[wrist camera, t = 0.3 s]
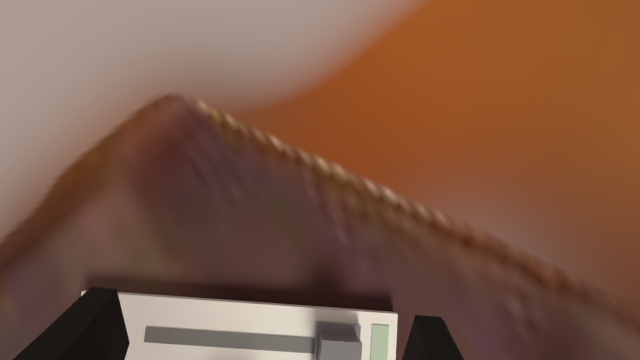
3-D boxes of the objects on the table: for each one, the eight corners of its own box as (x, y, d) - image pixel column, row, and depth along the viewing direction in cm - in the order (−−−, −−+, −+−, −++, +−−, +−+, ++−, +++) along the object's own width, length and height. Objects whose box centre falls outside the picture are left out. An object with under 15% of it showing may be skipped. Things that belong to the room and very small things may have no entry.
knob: (356, 374, 37) (363, 388, 33) (312, 372, 37) (314, 385, 33) (359, 324, 38) (366, 331, 34) (316, 320, 37) (318, 328, 34)
